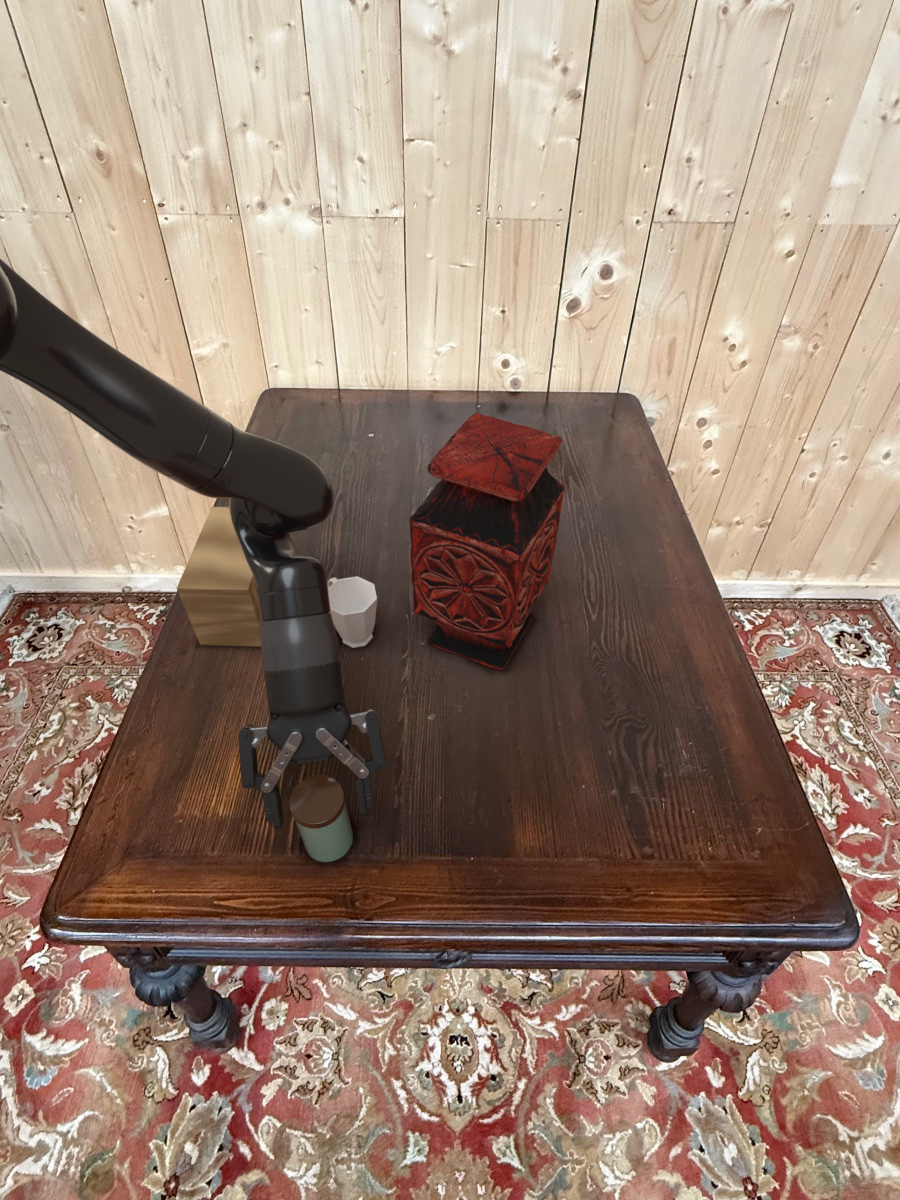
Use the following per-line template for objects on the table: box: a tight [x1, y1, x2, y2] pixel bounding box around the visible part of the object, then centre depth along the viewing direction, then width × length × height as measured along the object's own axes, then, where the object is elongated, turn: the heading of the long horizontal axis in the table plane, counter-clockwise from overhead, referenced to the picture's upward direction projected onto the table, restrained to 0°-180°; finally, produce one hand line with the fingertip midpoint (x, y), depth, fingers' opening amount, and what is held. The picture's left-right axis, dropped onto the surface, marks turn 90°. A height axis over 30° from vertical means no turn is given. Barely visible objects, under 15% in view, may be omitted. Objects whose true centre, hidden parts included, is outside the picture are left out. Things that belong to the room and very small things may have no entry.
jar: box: [289, 774, 354, 863], centre depth 71 cm, size 5×5×9 cm
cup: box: [327, 575, 378, 649], centre depth 92 cm, size 7×10×8 cm
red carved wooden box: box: [408, 412, 565, 671], centre depth 84 cm, size 14×14×30 cm
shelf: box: [176, 506, 262, 647], centre depth 95 cm, size 16×9×11 cm, turn 178°
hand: (321, 819), depth 70 cm, fingers open, 8 cm apart
